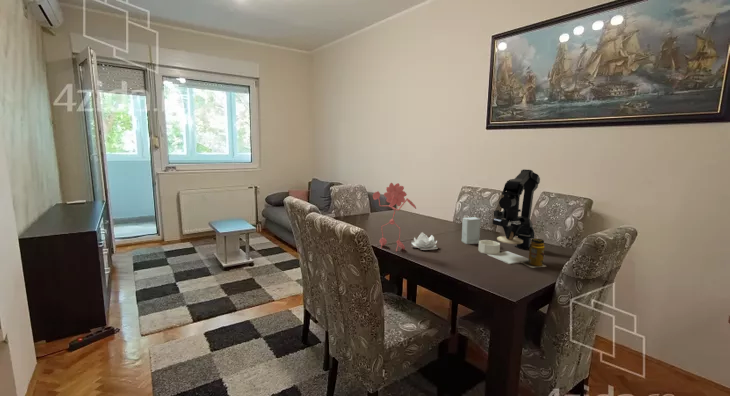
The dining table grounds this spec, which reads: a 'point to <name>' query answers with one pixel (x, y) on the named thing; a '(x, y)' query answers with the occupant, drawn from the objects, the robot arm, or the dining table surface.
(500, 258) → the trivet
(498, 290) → the dining table surface
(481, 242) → the bowl
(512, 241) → the lid
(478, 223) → the skincare box
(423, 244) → the lotus flower
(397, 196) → the figurine
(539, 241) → the condiment
